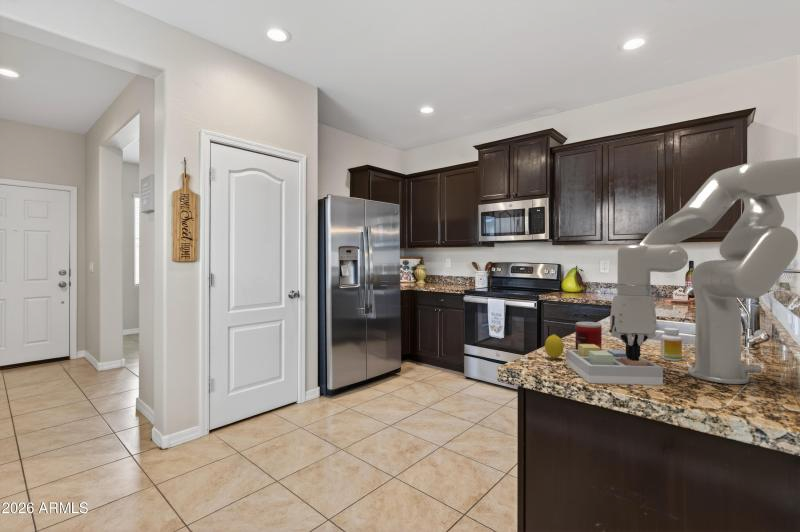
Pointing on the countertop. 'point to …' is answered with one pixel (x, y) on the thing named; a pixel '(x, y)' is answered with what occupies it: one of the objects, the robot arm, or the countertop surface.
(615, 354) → the key slate
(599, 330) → the canned food
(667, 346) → the supplement bottle
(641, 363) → the key terracotta
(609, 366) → the keypad
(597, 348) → the key mustard
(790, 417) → the countertop surface
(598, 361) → the key sage
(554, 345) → the lemon
